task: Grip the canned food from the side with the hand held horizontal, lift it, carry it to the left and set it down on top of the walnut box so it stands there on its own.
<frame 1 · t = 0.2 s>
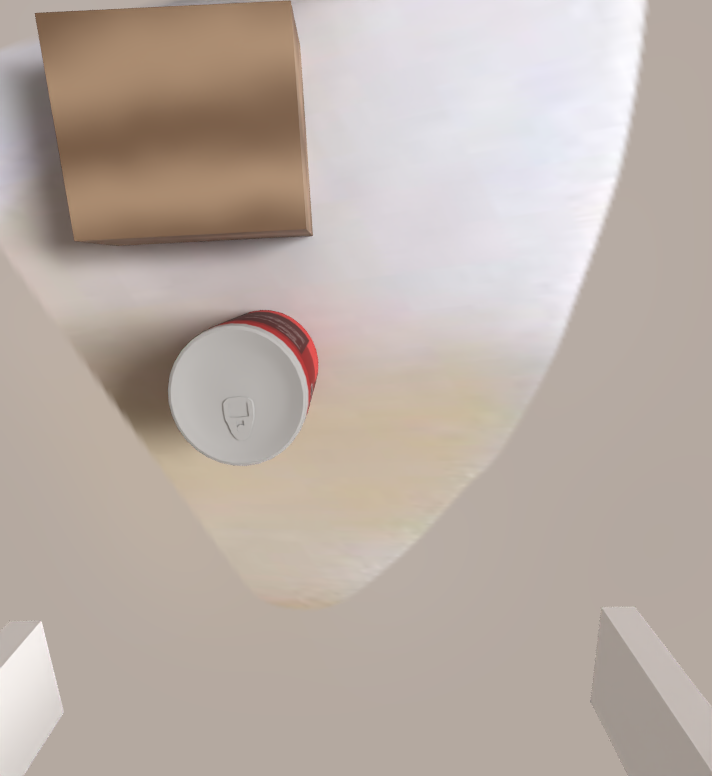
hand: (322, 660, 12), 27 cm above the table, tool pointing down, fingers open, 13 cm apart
canned food: (269, 361, 38), on the table
walnut box: (206, 150, 35), on the table
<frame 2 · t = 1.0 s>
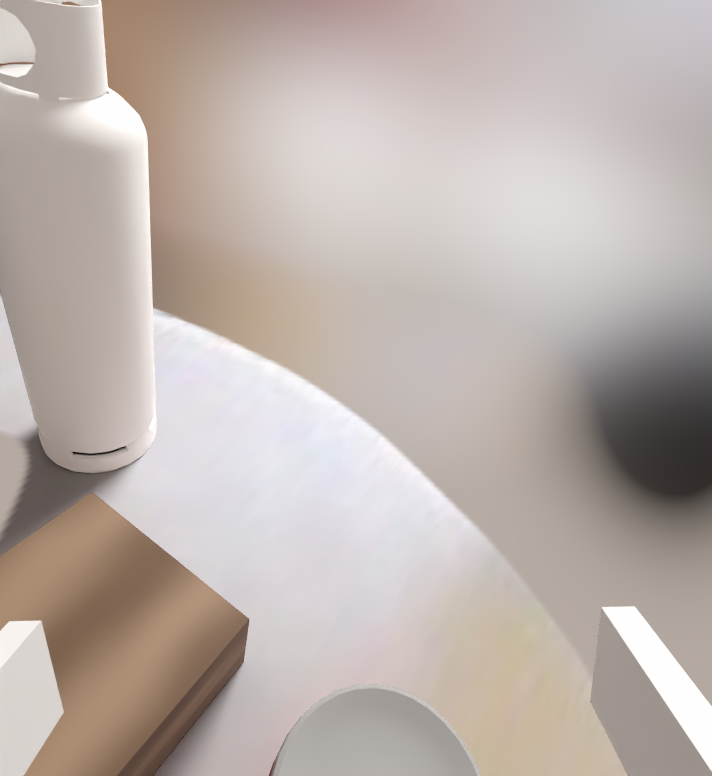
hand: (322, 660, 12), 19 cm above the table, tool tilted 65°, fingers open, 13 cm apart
bottle: (101, 432, 39), on the table
walnut box: (65, 705, 26), on the table
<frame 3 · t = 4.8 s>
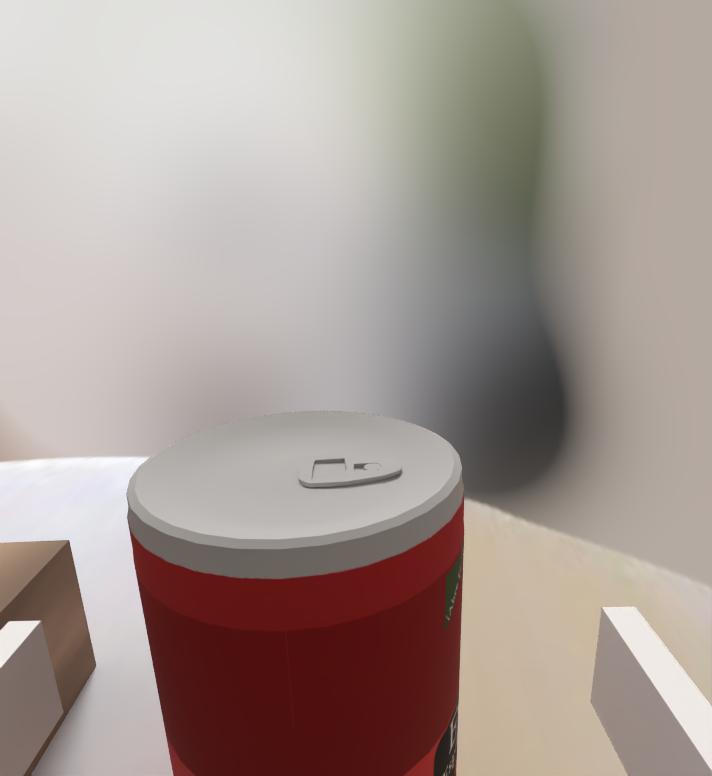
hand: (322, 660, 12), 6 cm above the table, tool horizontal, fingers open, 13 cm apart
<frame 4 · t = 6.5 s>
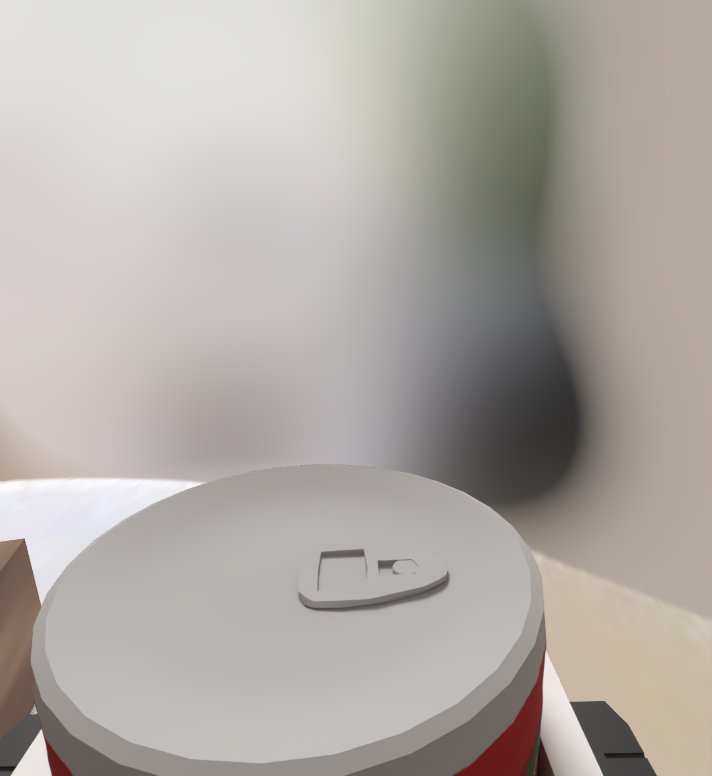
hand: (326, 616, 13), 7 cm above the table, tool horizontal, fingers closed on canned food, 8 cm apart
when the fingers open (13 cm above the table, at t = 11.8 s): canned food drops 1 cm, point 5 cm above the table.
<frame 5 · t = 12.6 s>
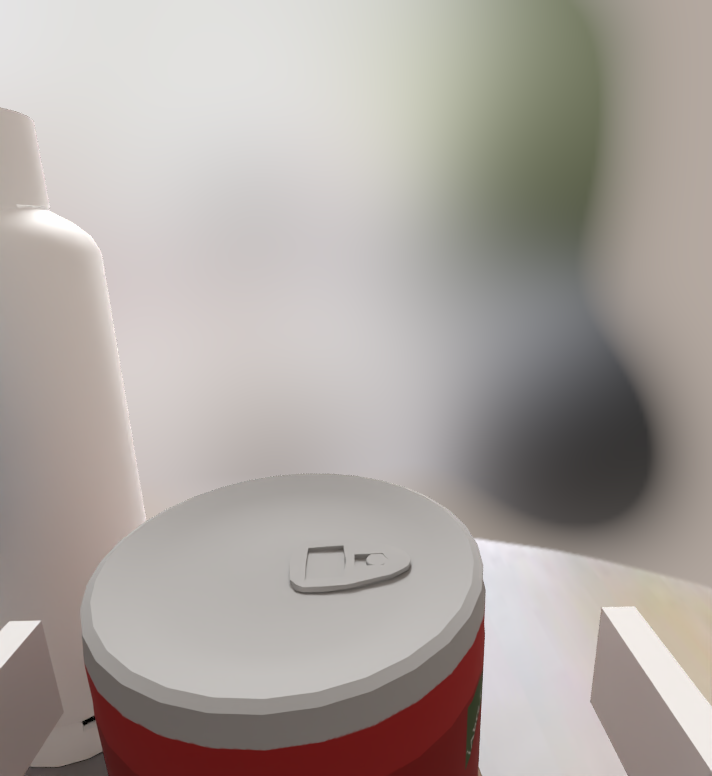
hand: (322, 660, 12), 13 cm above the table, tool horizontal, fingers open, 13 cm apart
bottle: (92, 695, 27), on the table
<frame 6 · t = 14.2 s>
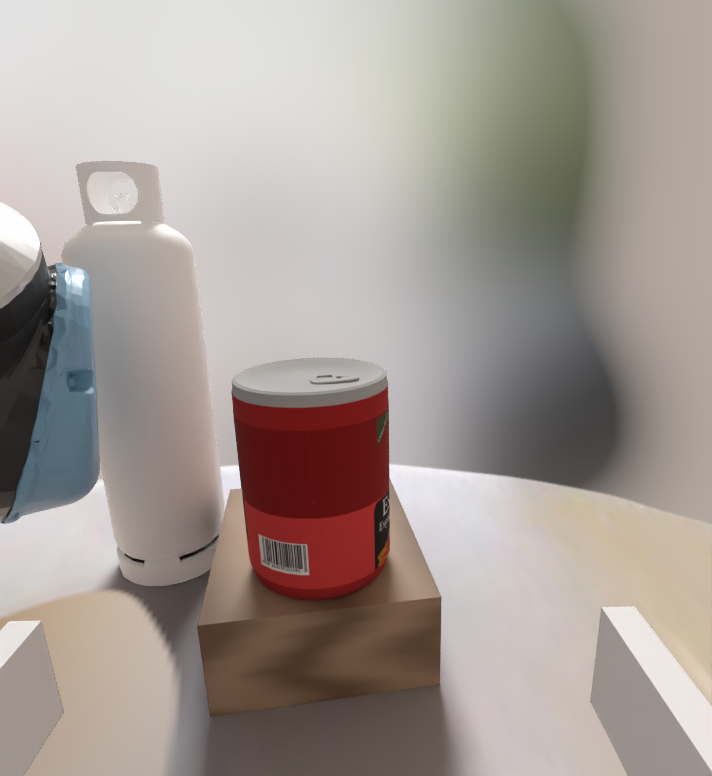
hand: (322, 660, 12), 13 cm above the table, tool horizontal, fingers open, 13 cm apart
canned food: (321, 562, 29), point 5 cm above the table, touching walnut box
bottle: (176, 555, 39), on the table
walnut box: (320, 613, 33), on the table, touching canned food
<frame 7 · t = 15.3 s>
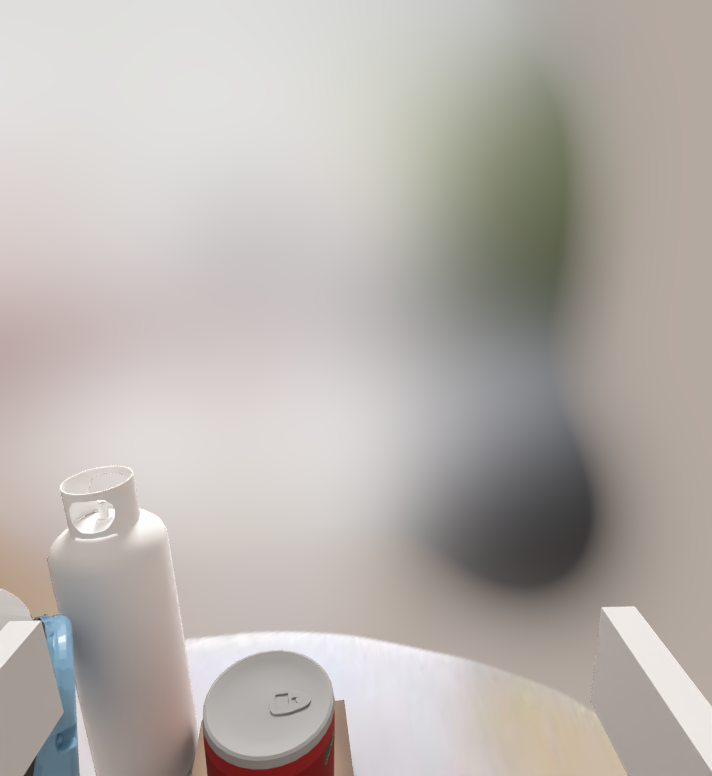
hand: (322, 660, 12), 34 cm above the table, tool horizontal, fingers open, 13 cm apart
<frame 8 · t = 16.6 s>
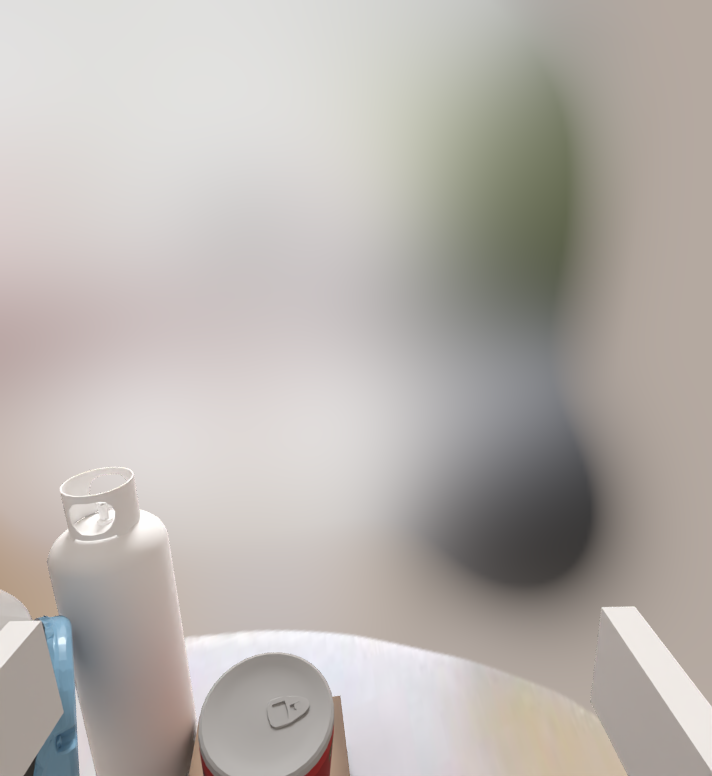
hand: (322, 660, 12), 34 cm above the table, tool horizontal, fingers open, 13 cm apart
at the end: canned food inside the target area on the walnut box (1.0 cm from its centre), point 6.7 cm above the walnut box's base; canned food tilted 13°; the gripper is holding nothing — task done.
